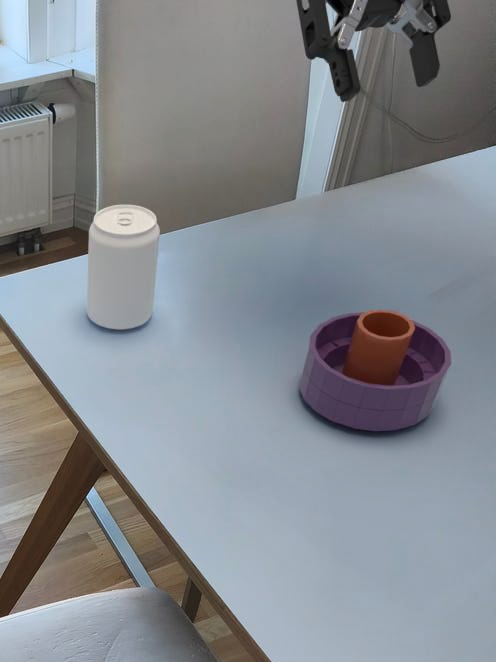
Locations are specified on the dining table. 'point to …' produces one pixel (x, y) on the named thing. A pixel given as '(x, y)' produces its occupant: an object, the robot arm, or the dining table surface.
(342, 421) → the bowl
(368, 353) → the cup
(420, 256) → the dining table surface
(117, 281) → the beverage can
